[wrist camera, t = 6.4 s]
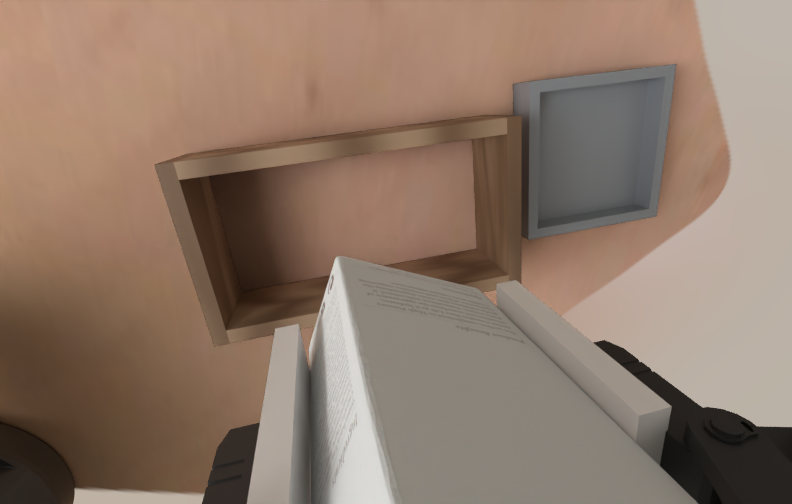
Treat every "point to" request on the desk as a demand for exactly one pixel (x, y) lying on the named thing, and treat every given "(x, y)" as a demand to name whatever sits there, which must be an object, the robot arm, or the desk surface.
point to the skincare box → (454, 405)
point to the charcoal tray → (592, 148)
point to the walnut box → (301, 301)
